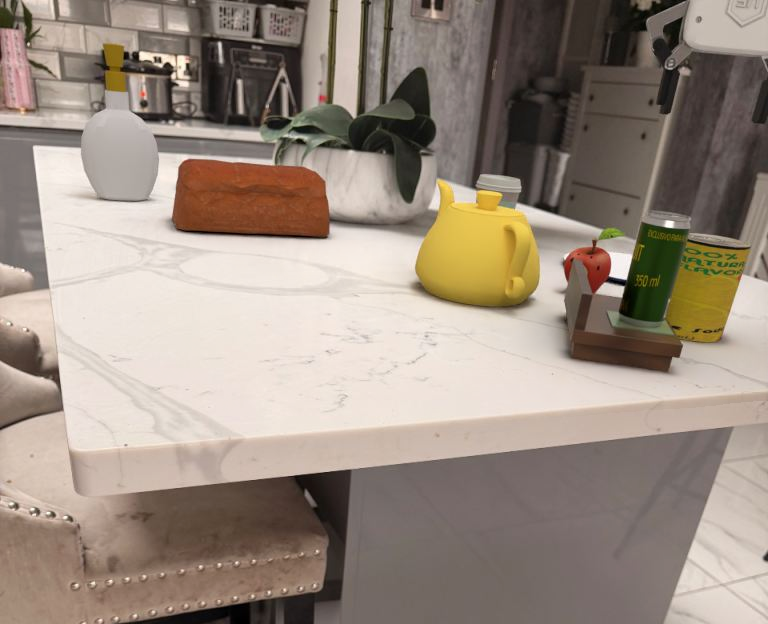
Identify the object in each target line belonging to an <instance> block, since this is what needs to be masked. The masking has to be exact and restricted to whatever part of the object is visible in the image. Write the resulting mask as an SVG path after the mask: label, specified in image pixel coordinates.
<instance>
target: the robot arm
mask: <svg viewBox="0 0 768 624" xmlns="http://www.w3.org/2000/svg"><path fill="white" fill-rule="evenodd" d="M681 18H682V21H681V25H680V31H679V34H678V43H679V44H678V45H677V46H675V47H674V49H673V50H671V48H670V47H669V45H668V44H667V42H666V40H665V37H664V27H665V26H666V25H668V24H671V23H672V22H675V21H677V20H679V19H681ZM645 26H646V30H647V35H648V41H649V44H650V49H651V51H652V53H653V55H654V57H655V58H656V60H657V62H658V63H659V64H660V68H661V69H662V74H661V78H660V83H659V88H658V91H657V96H656V101H655V105H656V106H660V108H659V114H660V115H667V116H668V115H669V114H671V113H672V110H673V105H674V101H675V97H676V93H677V89H678V85H679V80H680V76H681V72H680V70H679V68H680V64H681V63H682V62H683V61H684V60H685V59H686V58H687V57H688V56H689V55H690V54H691V53H693V52H696V53H703V54H715V55H716V54H717V55H726V56H738V57H749V58H761V60H762V62H763V64H764V67H765V70H766V71H767V72H768V0H685V1H682V2H680V3H678V4H676V5H674V6H672V7H669V8H667V9H664V10H663V11H660V12H658V13H656V14H654V15H652V16H650V17H648V18H647V19H646V22H645ZM753 109H754V110H753V112H752V116H751V119H750V120H751V122H752V123H753V124H758V125H765V124H766V123H767V119H768V76H767V78H766V79H764V80H763V81H762V83H761V84H760V89H759V92H758V95H757V99H756V102H755V106H754V108H753Z"/></svg>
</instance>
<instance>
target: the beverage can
mask: <svg viewBox="0 0 768 624" xmlns="http://www.w3.org/2000/svg"><path fill="white" fill-rule="evenodd" d="M751 248H752V244H751V243H748V242H746V241H743V240H740V239H736V238H731V237H727V236H722V235H717V234H710V233H701V232H691V231H690V233H689V236H688V240H687V243H686V247H685V250H684V254H683V257H682V261H681V264H680V268H679V271H678V275H677V278H676V282H675V285H674V289H673V292H672V296H671V300H670V303H669V307H668V310H667V314H666V318H667V320H668V321H669V323H670V325H671V326H672V328H673V330H674V331H675V333H676V334H677V336H678V338H679V339H680V340H685V341H691V342H700V343H716V342H719V341H720V340H722V337H723V334H724V332H725V328H726V325H727V322H728V319H729V316H730V313H731V309H732V306H733V305H734V301H735V298H736V294H737V291H738V288H739V285H740V282H741V280H742V276H743V273H744V269H745V267H746V264H747V261H748V258H749V255H750V251H751Z"/></svg>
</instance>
